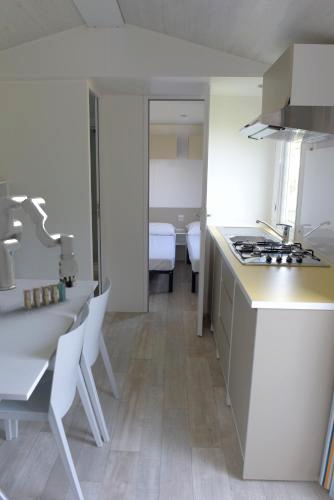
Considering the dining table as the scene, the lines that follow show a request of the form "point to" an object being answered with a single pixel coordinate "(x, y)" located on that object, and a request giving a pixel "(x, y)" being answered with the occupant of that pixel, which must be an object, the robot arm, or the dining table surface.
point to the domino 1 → (27, 299)
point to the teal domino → (62, 291)
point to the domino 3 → (45, 295)
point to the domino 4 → (53, 293)
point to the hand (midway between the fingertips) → (69, 287)
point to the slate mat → (43, 305)
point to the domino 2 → (36, 297)
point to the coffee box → (72, 281)
